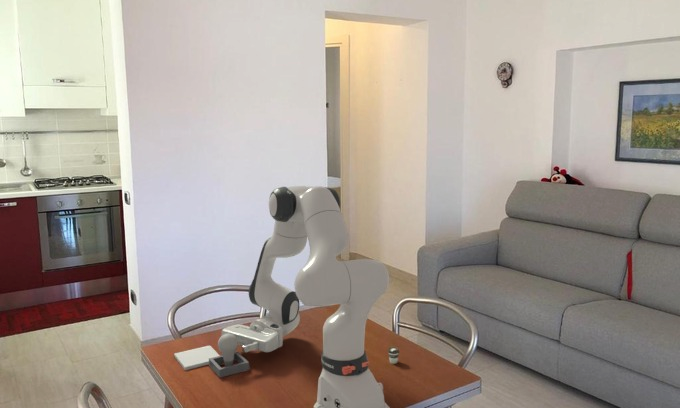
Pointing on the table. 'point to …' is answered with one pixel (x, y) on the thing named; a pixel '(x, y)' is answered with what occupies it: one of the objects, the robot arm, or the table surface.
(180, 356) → the mat
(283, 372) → the table surface
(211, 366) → the frame
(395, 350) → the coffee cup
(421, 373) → the table surface
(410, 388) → the table surface
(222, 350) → the lightbulb
